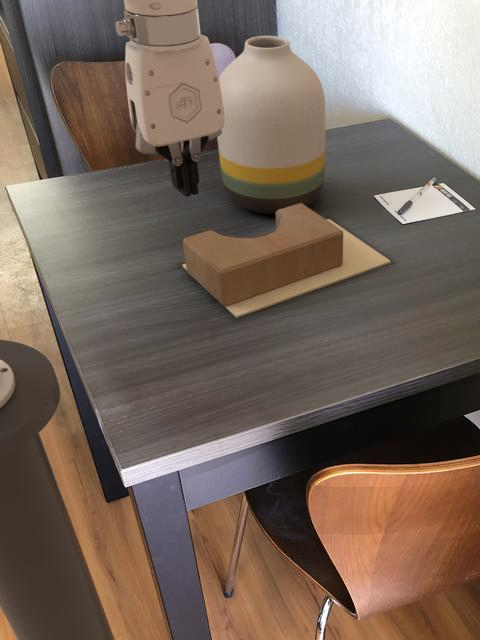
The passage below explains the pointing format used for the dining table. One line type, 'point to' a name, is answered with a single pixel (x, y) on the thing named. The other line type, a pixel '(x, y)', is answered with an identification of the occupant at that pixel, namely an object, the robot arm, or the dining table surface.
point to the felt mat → (316, 276)
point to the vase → (271, 128)
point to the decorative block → (264, 255)
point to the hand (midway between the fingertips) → (187, 191)
